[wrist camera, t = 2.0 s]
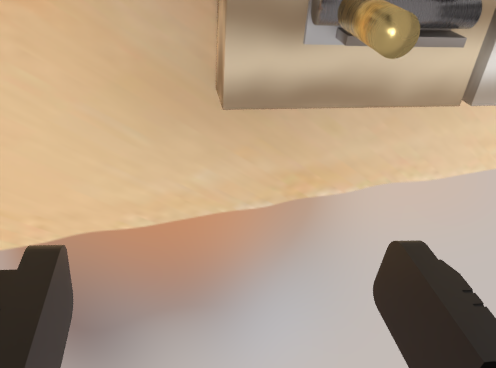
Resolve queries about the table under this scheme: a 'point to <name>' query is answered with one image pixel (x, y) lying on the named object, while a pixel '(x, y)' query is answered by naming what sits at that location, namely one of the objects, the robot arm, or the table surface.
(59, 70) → the table surface
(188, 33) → the table surface
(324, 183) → the table surface
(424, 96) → the grey stone slabs
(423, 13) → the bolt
